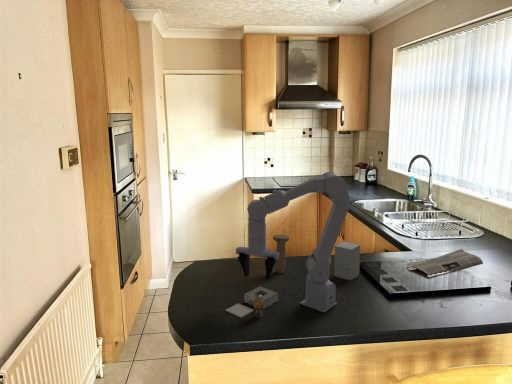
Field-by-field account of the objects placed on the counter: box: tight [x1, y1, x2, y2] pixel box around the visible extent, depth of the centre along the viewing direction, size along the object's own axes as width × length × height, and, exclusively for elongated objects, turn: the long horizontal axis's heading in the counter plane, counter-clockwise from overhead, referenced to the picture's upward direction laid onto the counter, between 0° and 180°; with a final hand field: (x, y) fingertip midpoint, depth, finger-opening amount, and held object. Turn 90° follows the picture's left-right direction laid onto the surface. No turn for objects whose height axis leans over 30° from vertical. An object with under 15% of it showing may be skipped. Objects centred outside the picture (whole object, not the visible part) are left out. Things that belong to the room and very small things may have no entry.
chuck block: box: [243, 286, 279, 310], centre depth 132 cm, size 8×8×3 cm
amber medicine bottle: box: [253, 294, 265, 319], centre depth 122 cm, size 3×3×7 cm
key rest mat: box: [225, 302, 255, 319], centre depth 126 cm, size 7×6×1 cm
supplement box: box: [334, 241, 361, 281], centre depth 153 cm, size 7×7×13 cm
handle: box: [272, 234, 290, 274], centre depth 157 cm, size 5×6×15 cm
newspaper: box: [406, 248, 484, 275], centre depth 165 cm, size 35×12×4 cm, turn 118°
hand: (257, 277), depth 128 cm, fingers open, 7 cm apart
